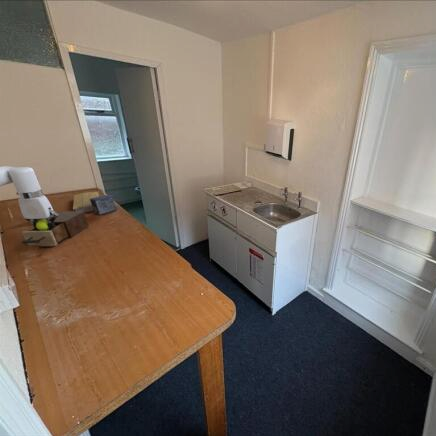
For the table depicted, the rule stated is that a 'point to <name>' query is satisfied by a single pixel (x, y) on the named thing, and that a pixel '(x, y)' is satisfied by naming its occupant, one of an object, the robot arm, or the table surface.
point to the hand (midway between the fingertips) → (46, 229)
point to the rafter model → (84, 201)
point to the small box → (103, 204)
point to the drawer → (45, 236)
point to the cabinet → (72, 221)
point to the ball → (42, 225)
